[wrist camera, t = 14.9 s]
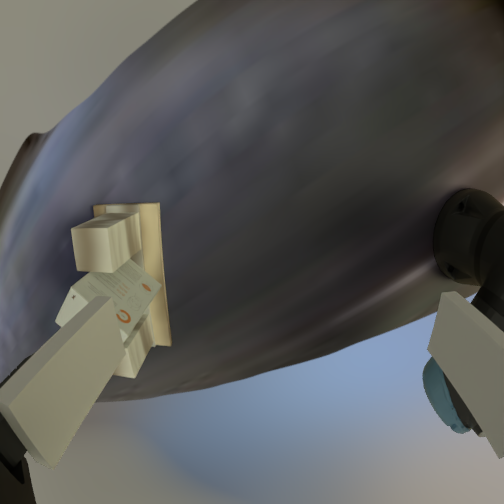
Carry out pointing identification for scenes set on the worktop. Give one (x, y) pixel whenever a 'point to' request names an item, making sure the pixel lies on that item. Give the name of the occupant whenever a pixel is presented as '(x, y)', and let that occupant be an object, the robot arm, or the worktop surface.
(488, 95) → the worktop surface
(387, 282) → the worktop surface
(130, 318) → the small box
